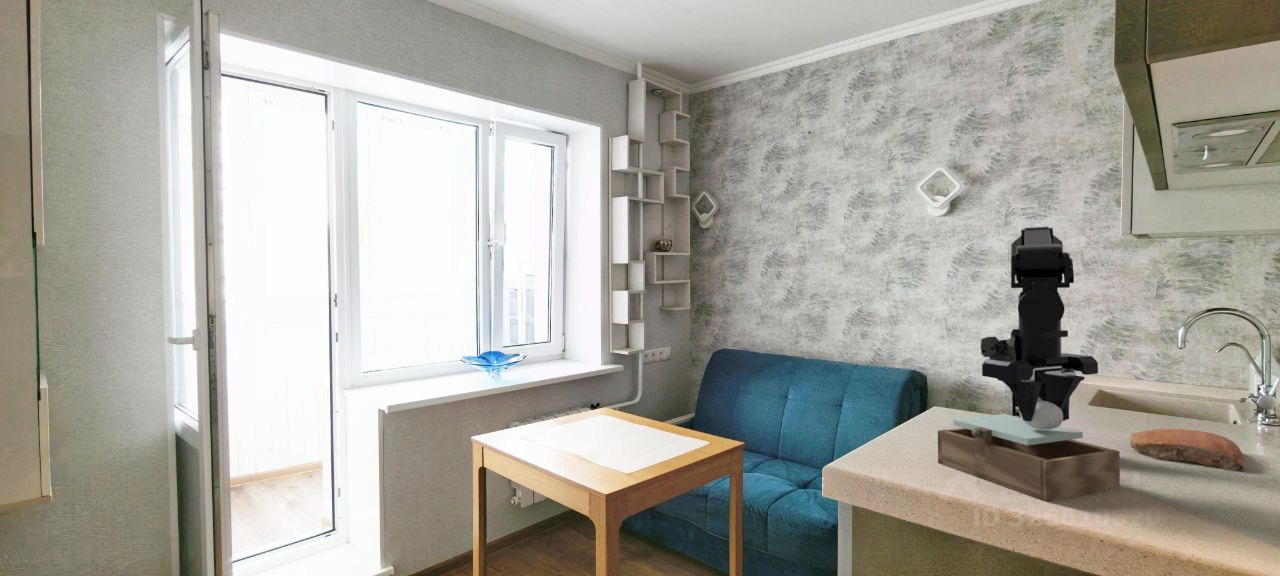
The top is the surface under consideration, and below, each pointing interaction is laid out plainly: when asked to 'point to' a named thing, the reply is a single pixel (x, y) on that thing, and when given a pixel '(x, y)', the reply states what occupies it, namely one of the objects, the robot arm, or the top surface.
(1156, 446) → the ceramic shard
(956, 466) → the frame
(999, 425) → the trapdoor plate
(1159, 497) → the top surface
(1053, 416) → the garlic
